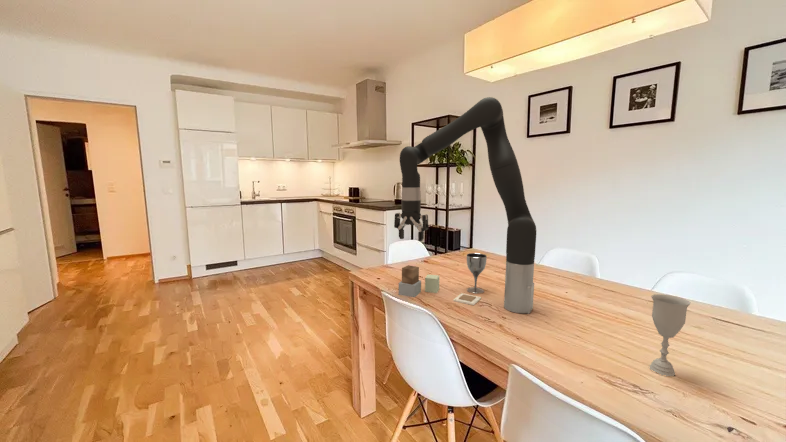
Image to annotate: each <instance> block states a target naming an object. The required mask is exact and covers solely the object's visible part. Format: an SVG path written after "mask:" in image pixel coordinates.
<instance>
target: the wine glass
mask: <svg viewBox="0 0 786 442" xmlns="http://www.w3.org/2000/svg"><path fill="white" fill-rule="evenodd" d="M487 257H488V256H487V254H484V253H479V252H470V253H467V254H466V265H467V268H468V270H469V271H470V273H471V274H472V275H473V279H474V286H473V287H468V288H466V291H467V292H468V293H471V294H483V293H485V290H484V289H482V288H480V287H477V283H478V278H479V276H480V275H481V273H483V272H484V270H485V269H486V266H487Z"/></svg>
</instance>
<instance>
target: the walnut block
mask: <svg viewBox="0 0 786 442" xmlns="http://www.w3.org/2000/svg"><path fill="white" fill-rule="evenodd" d="M419 280H420V267H419V266H415V265H414V266H413V265H405V266H403V267H402V268H401V281H402V283H406V284H411V285H413V284H415V283H417V282H419Z"/></svg>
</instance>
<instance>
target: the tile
mask: <svg viewBox="0 0 786 442" xmlns="http://www.w3.org/2000/svg"><path fill="white" fill-rule="evenodd" d="M481 299H482V297H481V296H477V295H472V294H468V293H460V294H459V295H456V297H455V298H453V302H457V303H460V304H466V305H470V306H475V305H476V304H477V303H478V302H479V301H480V300H481Z"/></svg>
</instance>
